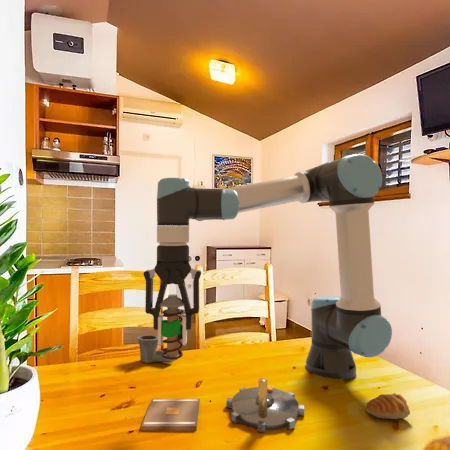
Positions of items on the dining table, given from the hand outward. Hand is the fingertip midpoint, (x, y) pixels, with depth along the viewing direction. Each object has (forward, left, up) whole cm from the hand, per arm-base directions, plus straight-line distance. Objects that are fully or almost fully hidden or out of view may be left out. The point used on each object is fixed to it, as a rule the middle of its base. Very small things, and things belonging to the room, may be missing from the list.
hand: (172, 342), depth 82 cm
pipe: (+10, -33, -17) cm, 38 cm away
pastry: (-49, -2, -18) cm, 52 cm away
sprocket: (-22, -2, -17) cm, 28 cm away
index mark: (-25, -13, -17) cm, 33 cm away
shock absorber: (0, 0, -4) cm, 4 cm away
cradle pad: (0, 0, -17) cm, 17 cm away
